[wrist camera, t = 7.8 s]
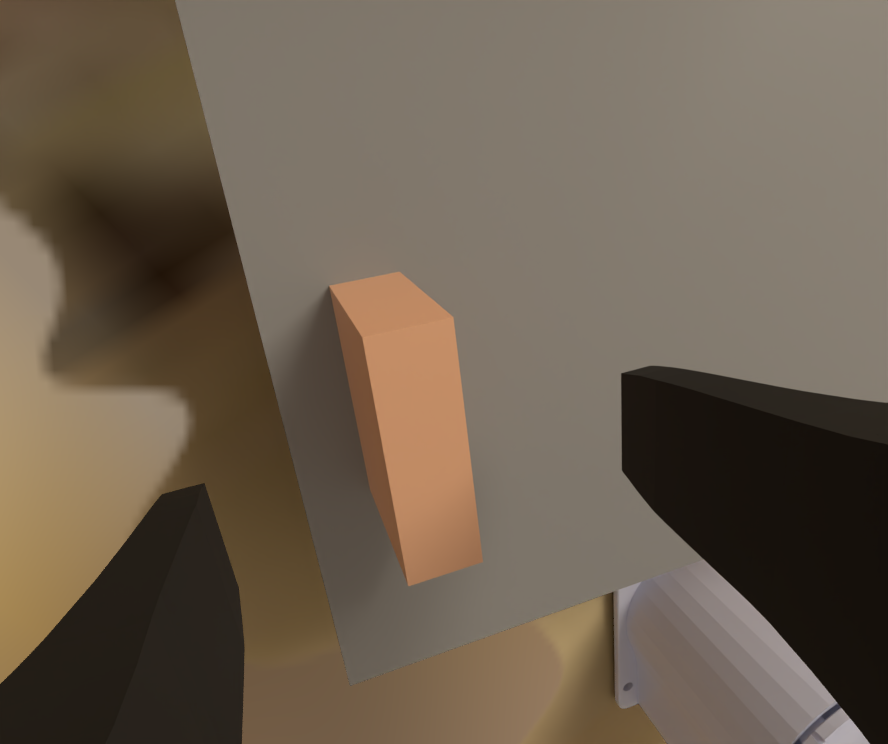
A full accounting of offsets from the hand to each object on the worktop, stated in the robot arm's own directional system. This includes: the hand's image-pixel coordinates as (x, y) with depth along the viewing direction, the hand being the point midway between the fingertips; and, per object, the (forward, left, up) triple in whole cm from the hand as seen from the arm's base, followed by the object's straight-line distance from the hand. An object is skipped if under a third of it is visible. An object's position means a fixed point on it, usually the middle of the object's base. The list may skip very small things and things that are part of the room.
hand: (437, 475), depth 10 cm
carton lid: (0, -9, -5) cm, 10 cm away
